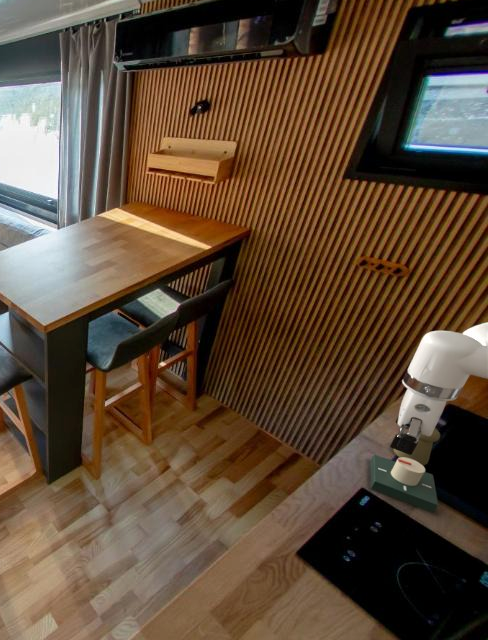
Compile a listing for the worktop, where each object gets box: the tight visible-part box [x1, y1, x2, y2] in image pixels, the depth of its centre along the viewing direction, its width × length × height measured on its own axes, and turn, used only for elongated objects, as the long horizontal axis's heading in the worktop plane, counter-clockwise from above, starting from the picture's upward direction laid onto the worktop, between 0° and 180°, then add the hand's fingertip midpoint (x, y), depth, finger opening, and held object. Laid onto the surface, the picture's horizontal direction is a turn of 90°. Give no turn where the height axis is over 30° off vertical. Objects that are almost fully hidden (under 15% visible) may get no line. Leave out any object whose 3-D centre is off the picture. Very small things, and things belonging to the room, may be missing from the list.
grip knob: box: [391, 457, 426, 486], centre depth 90 cm, size 4×4×5 cm
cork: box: [393, 427, 441, 466], centre depth 96 cm, size 6×6×11 cm
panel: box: [369, 454, 439, 513], centre depth 92 cm, size 10×10×3 cm
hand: (402, 437), depth 85 cm, fingers open, 9 cm apart
